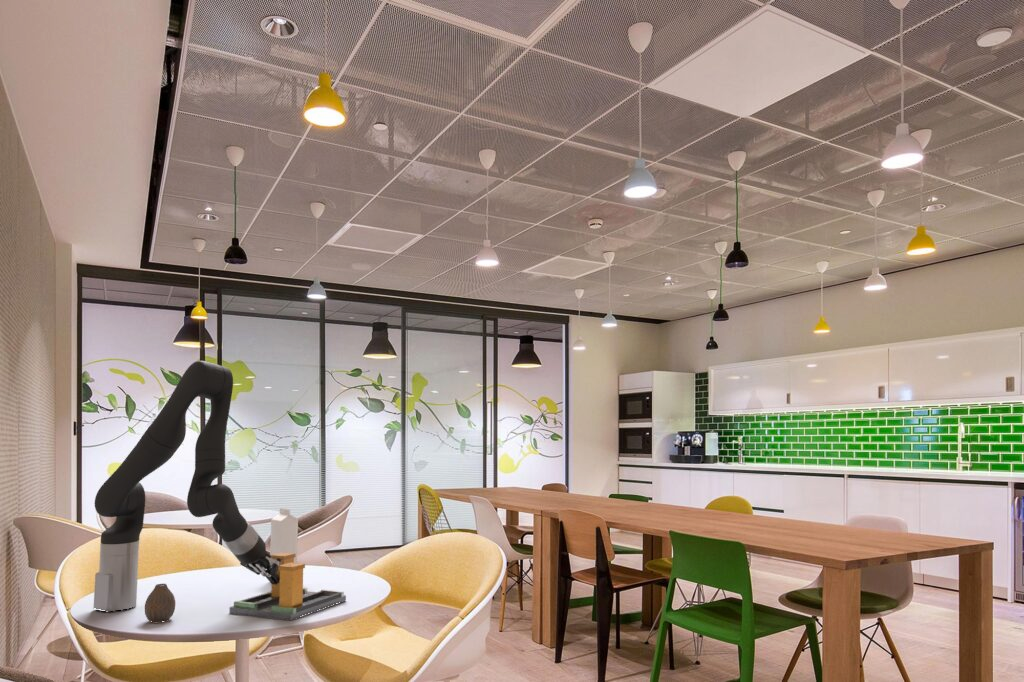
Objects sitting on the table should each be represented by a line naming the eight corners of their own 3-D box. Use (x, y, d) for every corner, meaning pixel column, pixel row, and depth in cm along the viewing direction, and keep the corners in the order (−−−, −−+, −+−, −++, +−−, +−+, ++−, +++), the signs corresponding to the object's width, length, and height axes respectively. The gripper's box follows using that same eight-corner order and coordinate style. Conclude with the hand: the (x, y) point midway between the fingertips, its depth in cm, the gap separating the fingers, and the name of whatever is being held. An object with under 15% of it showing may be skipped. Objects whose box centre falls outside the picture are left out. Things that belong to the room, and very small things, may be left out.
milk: (279, 584, 224) (280, 510, 226) (269, 581, 228) (270, 508, 231) (297, 580, 229) (298, 508, 231) (286, 578, 233) (288, 507, 235)
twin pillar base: (290, 620, 181) (291, 568, 183) (229, 613, 190) (231, 563, 191) (345, 601, 201) (346, 554, 203) (288, 594, 210) (289, 549, 211)
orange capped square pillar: (283, 598, 199) (284, 556, 200) (269, 596, 201) (270, 555, 202) (294, 594, 203) (295, 553, 204) (281, 593, 205) (282, 552, 206)
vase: (179, 617, 186) (180, 581, 187) (167, 624, 180) (169, 587, 180) (151, 617, 186) (153, 581, 187) (138, 624, 179) (140, 587, 180)
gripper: (271, 531, 190) (302, 571, 200) (233, 528, 196) (264, 567, 205) (255, 555, 185) (288, 595, 194) (216, 552, 190) (250, 591, 200)
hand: (276, 581), depth 200 cm, fingers closed
